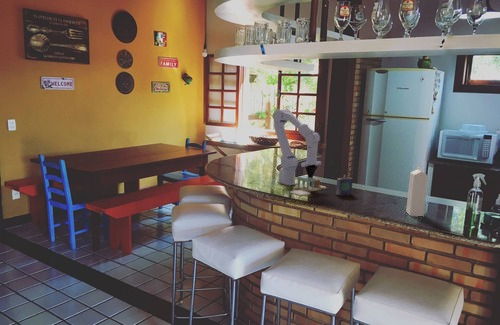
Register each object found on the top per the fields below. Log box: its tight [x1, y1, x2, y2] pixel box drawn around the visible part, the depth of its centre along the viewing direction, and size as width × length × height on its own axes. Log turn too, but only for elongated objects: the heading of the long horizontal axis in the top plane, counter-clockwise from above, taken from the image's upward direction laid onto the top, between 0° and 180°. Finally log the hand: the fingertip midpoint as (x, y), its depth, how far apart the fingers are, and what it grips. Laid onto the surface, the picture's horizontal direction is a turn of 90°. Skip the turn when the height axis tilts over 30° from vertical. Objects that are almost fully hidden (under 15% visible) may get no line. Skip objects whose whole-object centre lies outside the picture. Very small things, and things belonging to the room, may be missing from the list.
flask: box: [335, 174, 354, 197], centre depth 211 cm, size 9×3×11 cm, turn 109°
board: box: [292, 183, 327, 193], centre depth 222 cm, size 10×16×1 cm, turn 129°
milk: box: [405, 166, 429, 217], centre depth 178 cm, size 6×6×22 cm
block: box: [309, 178, 321, 188], centre depth 224 cm, size 4×4×5 cm
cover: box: [296, 175, 316, 189], centre depth 219 cm, size 8×5×6 cm, turn 39°
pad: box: [289, 189, 312, 197], centre depth 210 cm, size 8×8×1 cm
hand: (310, 178), depth 221 cm, fingers closed
